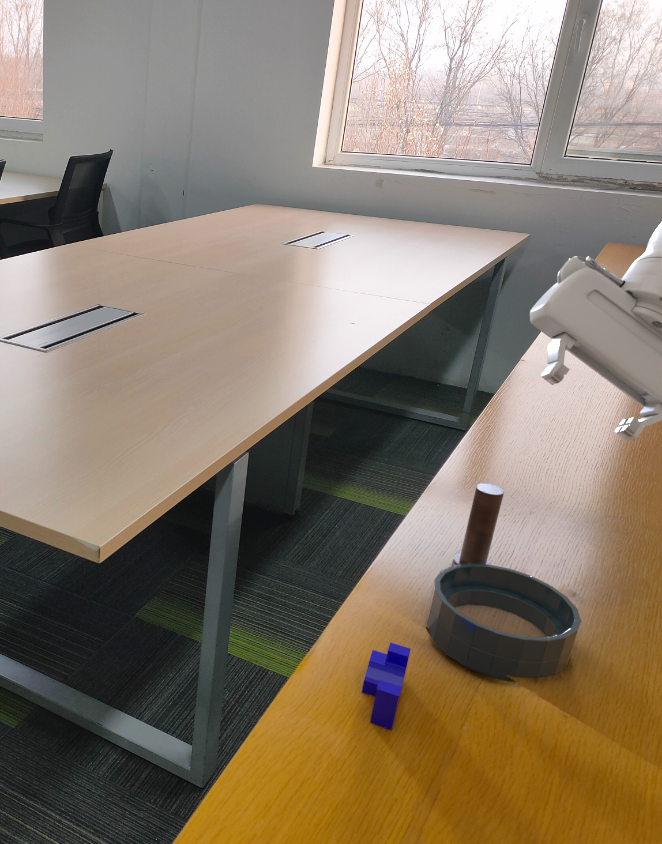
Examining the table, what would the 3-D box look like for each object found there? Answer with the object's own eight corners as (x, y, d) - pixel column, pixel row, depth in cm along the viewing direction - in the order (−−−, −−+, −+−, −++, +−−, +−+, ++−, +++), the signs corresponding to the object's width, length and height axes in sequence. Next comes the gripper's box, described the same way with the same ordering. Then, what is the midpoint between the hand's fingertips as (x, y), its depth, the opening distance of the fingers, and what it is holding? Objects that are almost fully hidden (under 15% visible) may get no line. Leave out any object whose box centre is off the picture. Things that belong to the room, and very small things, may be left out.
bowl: (591, 659, 86) (607, 612, 84) (518, 707, 79) (533, 657, 77) (472, 594, 97) (483, 551, 95) (398, 631, 90) (407, 585, 88)
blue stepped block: (368, 669, 84) (375, 637, 82) (403, 680, 82) (410, 648, 81) (353, 717, 77) (360, 683, 75) (391, 730, 75) (399, 696, 74)
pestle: (494, 585, 99) (518, 492, 94) (473, 596, 97) (496, 500, 92) (462, 569, 103) (483, 477, 98) (441, 578, 100) (462, 485, 95)
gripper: (595, 236, 82) (521, 339, 80) (762, 358, 81) (691, 465, 79) (558, 257, 88) (489, 353, 86) (712, 371, 87) (645, 470, 85)
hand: (586, 408), depth 83 cm, fingers open, 8 cm apart
